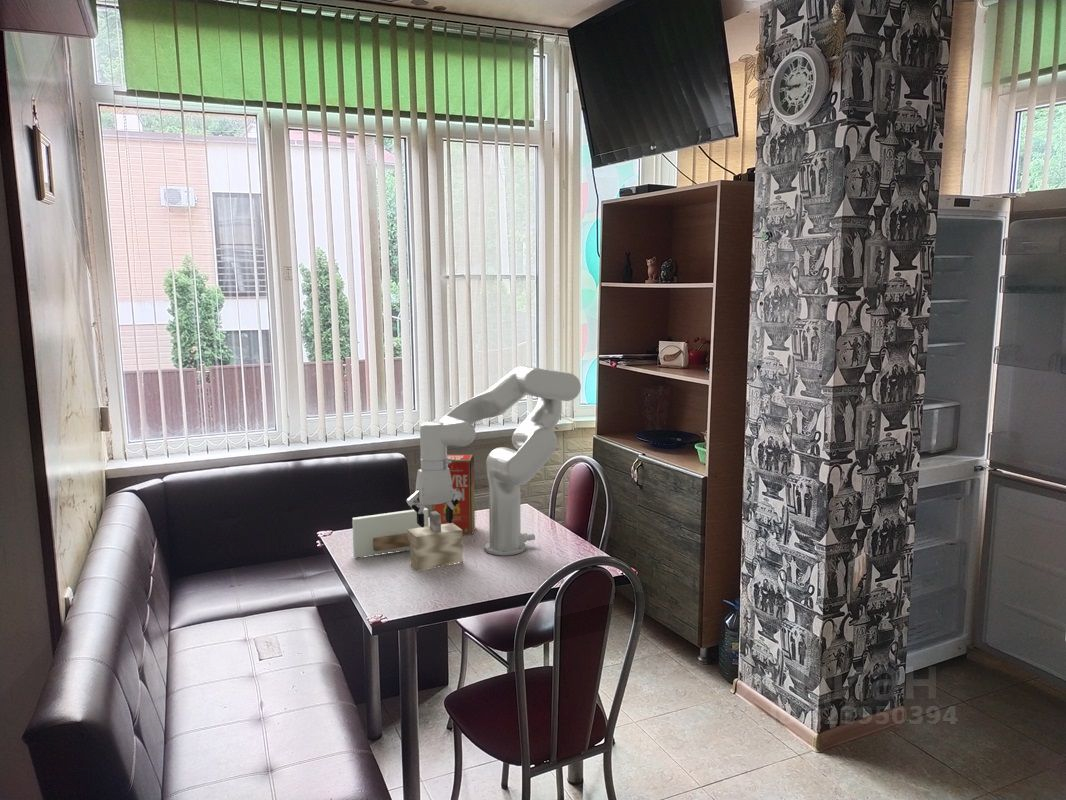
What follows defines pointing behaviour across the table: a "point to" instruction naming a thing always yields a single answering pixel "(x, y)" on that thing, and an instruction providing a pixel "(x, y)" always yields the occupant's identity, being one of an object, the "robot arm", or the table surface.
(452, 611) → the table surface
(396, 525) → the wall board
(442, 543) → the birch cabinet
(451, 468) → the food packaging
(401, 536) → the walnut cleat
